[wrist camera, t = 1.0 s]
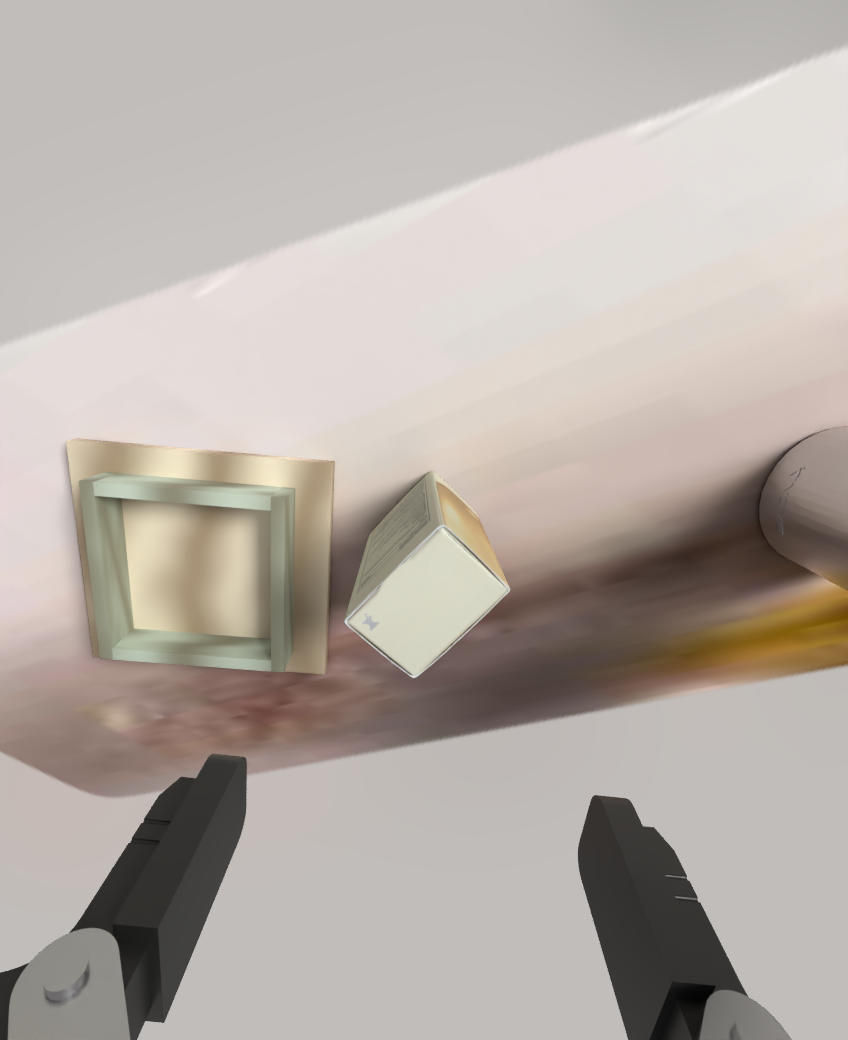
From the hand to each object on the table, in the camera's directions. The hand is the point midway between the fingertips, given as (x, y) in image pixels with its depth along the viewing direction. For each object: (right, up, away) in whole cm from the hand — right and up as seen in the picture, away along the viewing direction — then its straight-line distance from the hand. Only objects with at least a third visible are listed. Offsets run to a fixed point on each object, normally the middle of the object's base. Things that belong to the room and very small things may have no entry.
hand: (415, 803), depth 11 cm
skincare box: (0, +6, +21) cm, 22 cm away
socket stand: (-14, +4, +22) cm, 26 cm away
